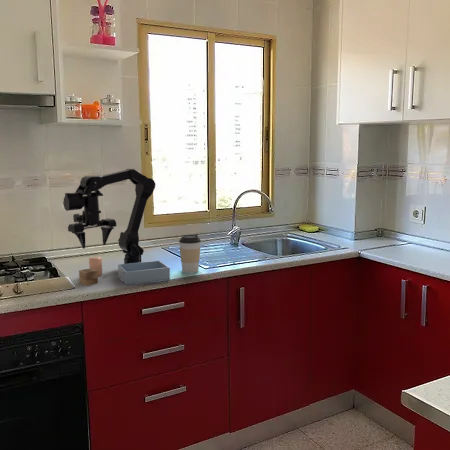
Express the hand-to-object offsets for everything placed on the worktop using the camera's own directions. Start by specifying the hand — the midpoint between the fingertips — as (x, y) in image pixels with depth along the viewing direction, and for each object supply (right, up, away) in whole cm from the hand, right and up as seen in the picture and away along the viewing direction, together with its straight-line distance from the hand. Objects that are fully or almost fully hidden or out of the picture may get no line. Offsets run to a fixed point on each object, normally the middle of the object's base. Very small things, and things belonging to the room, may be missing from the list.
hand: (94, 246), depth 203 cm
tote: (+21, -12, -4) cm, 24 cm away
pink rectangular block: (0, -12, +2) cm, 12 cm away
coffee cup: (+38, -11, +8) cm, 40 cm away
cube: (0, -14, -10) cm, 17 cm away
